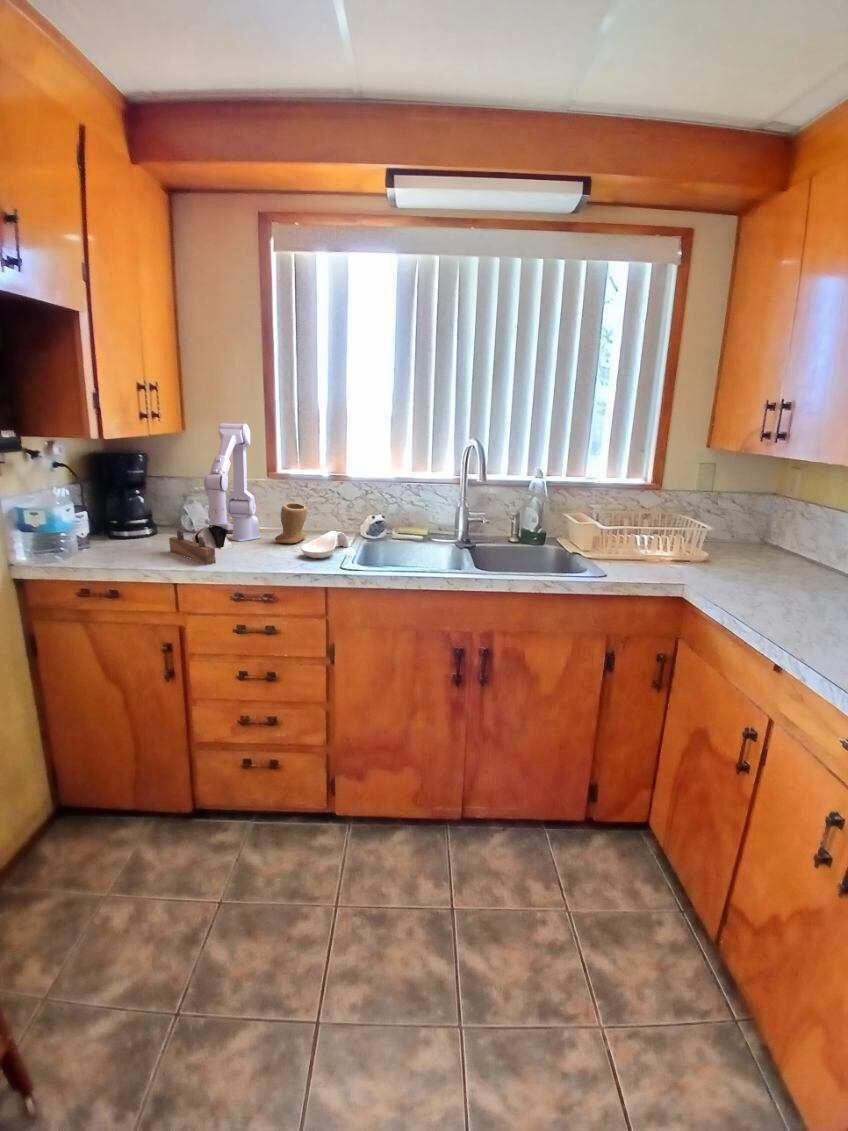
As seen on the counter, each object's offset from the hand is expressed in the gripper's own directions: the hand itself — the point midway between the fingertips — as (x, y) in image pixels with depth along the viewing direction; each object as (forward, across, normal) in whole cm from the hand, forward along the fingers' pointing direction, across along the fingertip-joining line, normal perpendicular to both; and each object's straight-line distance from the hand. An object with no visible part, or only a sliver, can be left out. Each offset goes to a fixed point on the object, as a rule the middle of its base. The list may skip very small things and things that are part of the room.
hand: (220, 547), depth 198 cm
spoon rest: (+2, +26, +27) cm, 37 cm away
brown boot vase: (+2, +2, +30) cm, 30 cm away
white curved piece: (+2, -3, -1) cm, 4 cm away
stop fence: (+2, 0, -10) cm, 11 cm away
